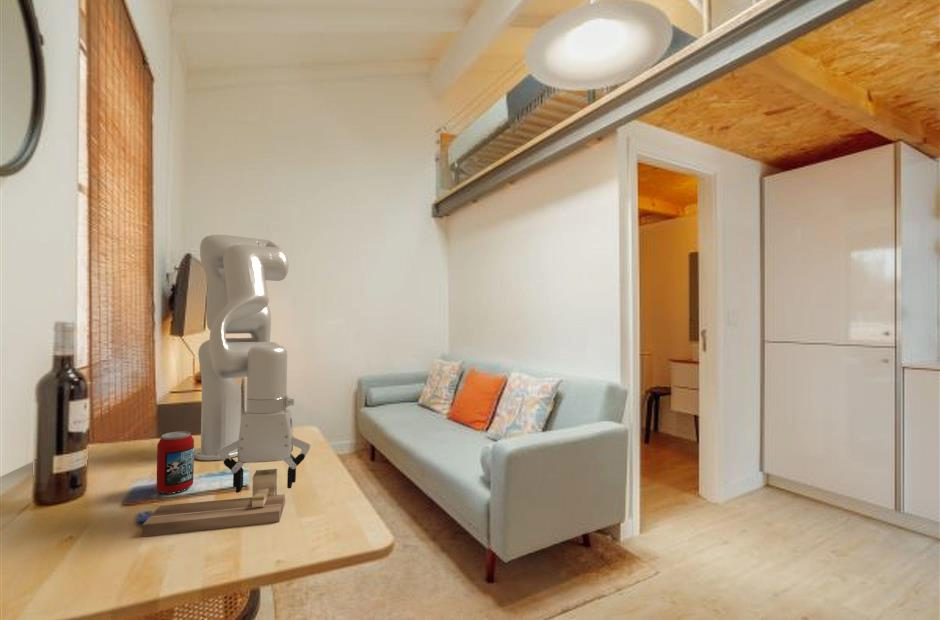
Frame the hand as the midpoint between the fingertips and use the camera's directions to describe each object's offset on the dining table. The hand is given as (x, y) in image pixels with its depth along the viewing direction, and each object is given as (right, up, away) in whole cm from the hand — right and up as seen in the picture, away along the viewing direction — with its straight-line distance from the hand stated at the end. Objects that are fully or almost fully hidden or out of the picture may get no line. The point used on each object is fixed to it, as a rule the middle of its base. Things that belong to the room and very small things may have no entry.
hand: (265, 488), depth 93 cm
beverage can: (-22, -3, +5) cm, 23 cm away
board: (-5, -3, -9) cm, 10 cm away
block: (+1, -3, -3) cm, 5 cm away
